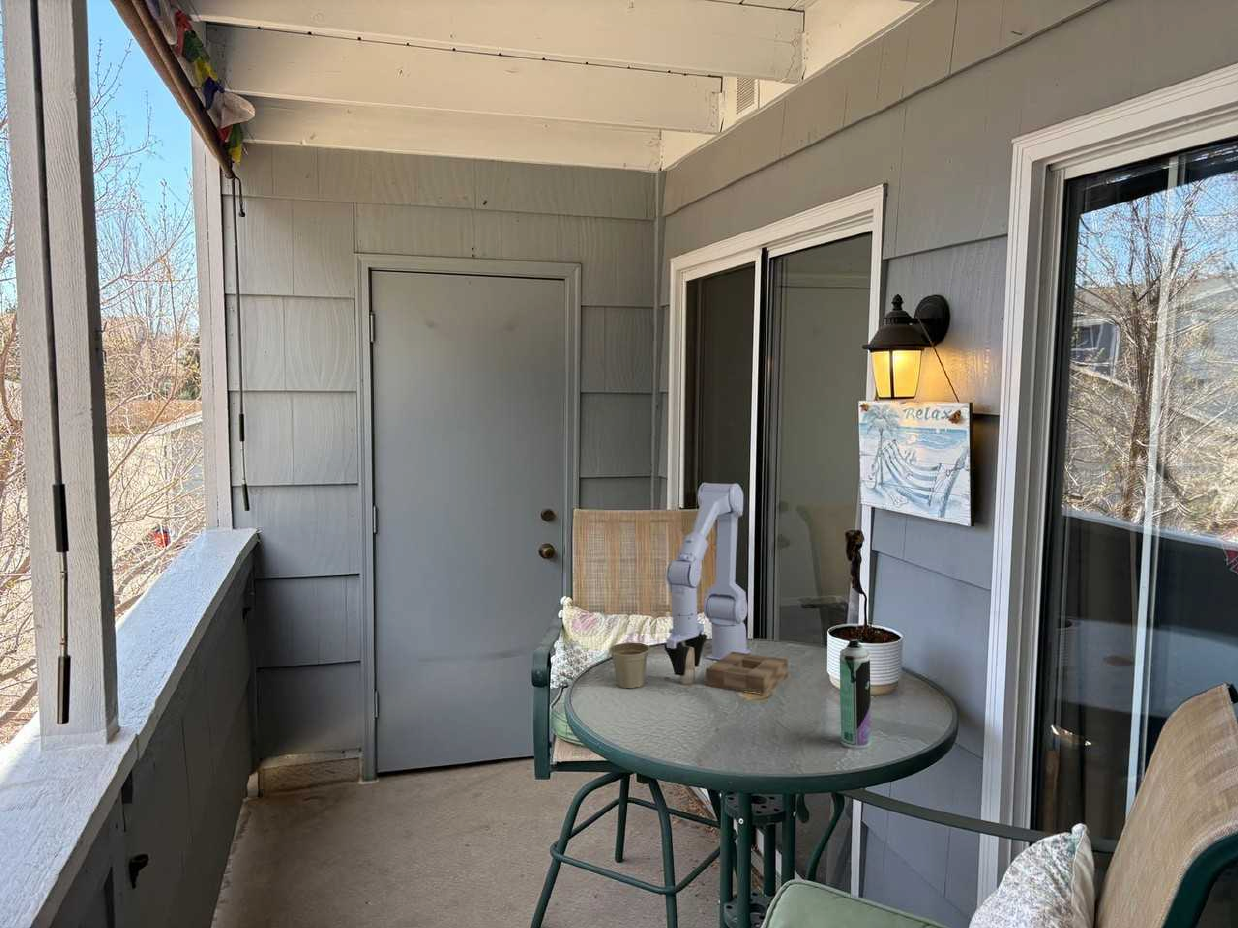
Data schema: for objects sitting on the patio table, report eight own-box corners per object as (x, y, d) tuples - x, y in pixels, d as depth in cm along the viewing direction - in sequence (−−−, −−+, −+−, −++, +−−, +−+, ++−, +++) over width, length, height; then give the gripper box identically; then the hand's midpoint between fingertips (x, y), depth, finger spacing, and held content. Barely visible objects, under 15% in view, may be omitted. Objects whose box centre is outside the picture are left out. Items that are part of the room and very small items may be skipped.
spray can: (872, 749, 156) (871, 644, 154) (841, 748, 157) (840, 643, 155) (869, 737, 161) (868, 635, 159) (840, 736, 162) (838, 634, 161)
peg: (684, 678, 198) (683, 645, 197) (697, 681, 196) (696, 647, 195) (676, 683, 195) (675, 649, 194) (690, 686, 193) (689, 652, 192)
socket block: (733, 667, 204) (732, 651, 204) (787, 676, 197) (787, 659, 196) (706, 685, 193) (706, 668, 192) (764, 695, 185) (763, 677, 185)
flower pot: (651, 691, 191) (650, 653, 190) (610, 692, 191) (608, 655, 190) (651, 677, 200) (649, 641, 199) (611, 678, 200) (609, 642, 200)
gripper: (684, 603, 202) (686, 658, 203) (653, 618, 190) (656, 677, 191) (711, 606, 198) (712, 662, 200) (681, 621, 186) (683, 681, 187)
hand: (687, 670), depth 195 cm, fingers open, 6 cm apart
